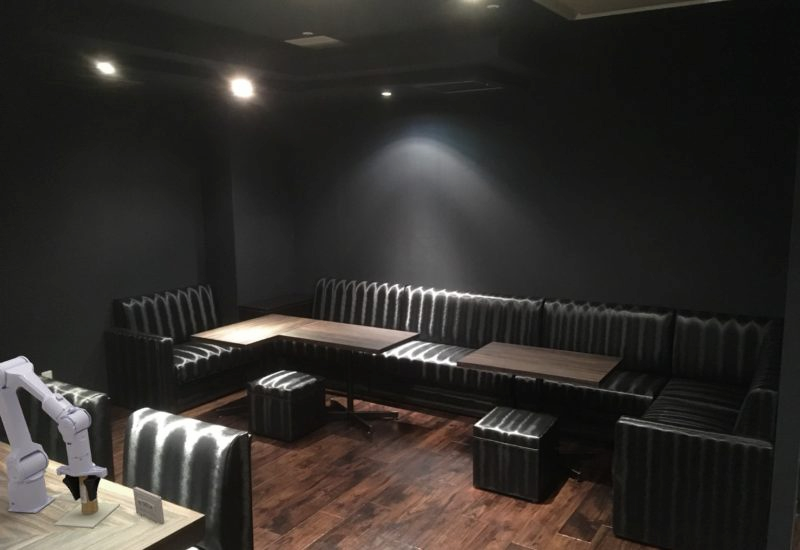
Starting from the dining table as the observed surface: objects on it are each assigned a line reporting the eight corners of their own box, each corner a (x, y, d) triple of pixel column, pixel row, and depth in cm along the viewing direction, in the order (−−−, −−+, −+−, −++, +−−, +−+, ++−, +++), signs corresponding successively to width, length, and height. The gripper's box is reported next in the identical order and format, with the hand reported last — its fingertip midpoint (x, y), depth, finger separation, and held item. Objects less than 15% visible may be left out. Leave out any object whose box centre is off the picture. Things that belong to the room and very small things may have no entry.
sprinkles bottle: (99, 512, 185) (96, 466, 183) (81, 516, 183) (78, 470, 181) (97, 505, 189) (94, 460, 187) (80, 509, 187) (76, 464, 185)
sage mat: (54, 525, 180) (54, 524, 180) (83, 503, 192) (83, 501, 192) (93, 528, 178) (92, 526, 178) (120, 505, 189) (119, 503, 189)
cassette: (134, 513, 185) (131, 488, 183) (140, 510, 186) (137, 485, 185) (160, 525, 178) (157, 499, 177) (166, 522, 179) (163, 496, 178)
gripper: (111, 448, 184) (117, 493, 186) (66, 446, 187) (72, 490, 189) (95, 460, 177) (101, 506, 179) (48, 457, 180) (55, 503, 182)
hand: (85, 499), depth 184 cm, fingers closed on sprinkles bottle, 4 cm apart
